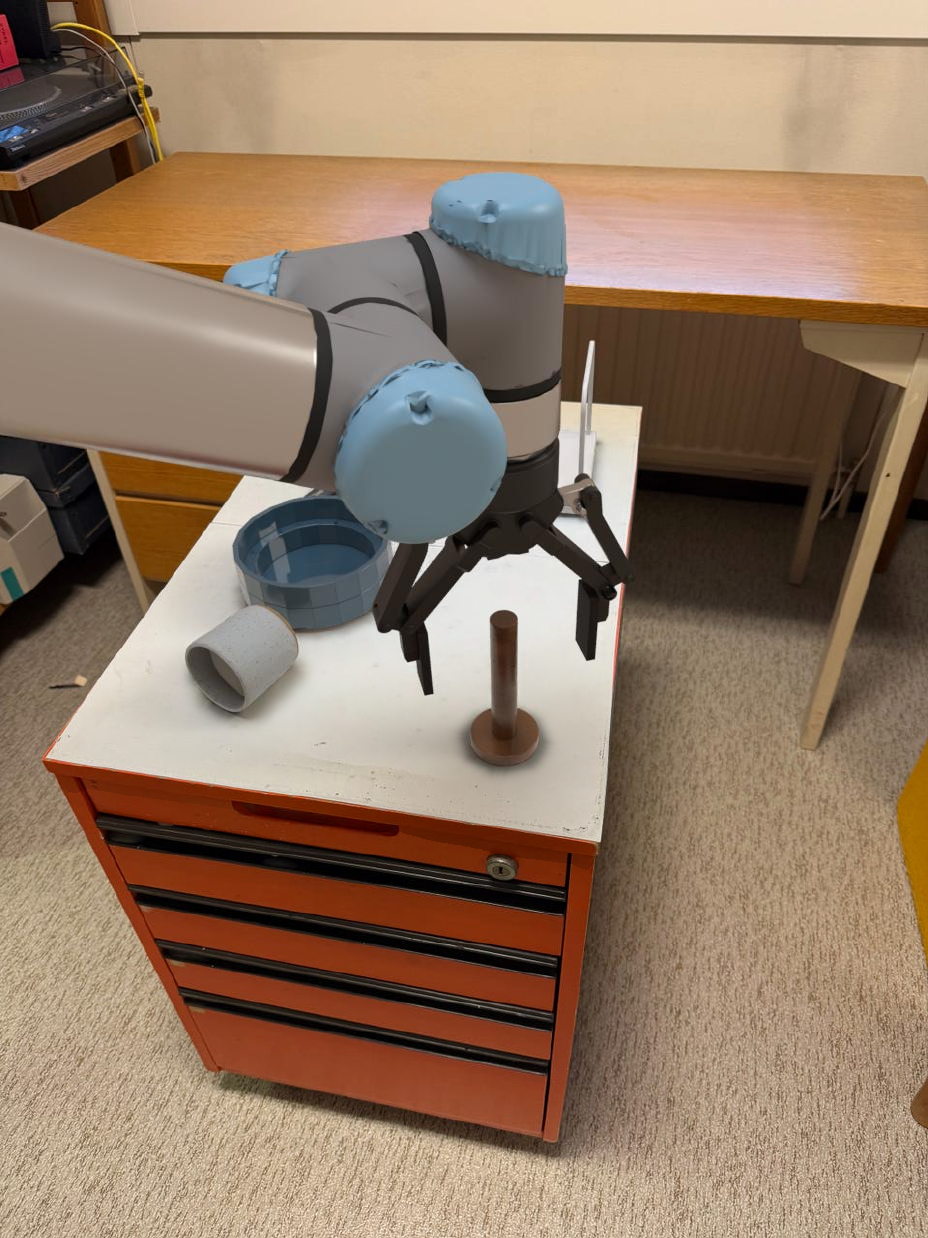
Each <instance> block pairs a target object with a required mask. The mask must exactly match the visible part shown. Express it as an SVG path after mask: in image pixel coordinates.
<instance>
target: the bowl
mask: <svg viewBox="0 0 928 1238" xmlns="http://www.w3.org/2000/svg"><path fill="white" fill-rule="evenodd" d="M231 547H232V556H233V557H232V558H233V563H234V566H235V571H236V574H237V578H238V582H239V586H240V589H241V593H242V597H243V601H244V602H245V603H246V604H247V607H248V606H251V605H256V604H258V605H264V606H267V607H269V608H271V609H273V610H275V611H276V612H278V613H279V614H280V615H281V616H282V617H283V618H284V619H285V620H286V621H287V622H288V623H289V625H290V626H291V628H292V629H312V630H313V629H315V630H316V629H322V628H327V627H332V626H338V625H341V624H344V623H347V622H349V621H352V620H354V619H356V618H359V617H361V616H364V615H365V614H367V613H368V612H369V611H371V610H372V604H373V602H374V600H375V597H376V595H377V593H378V591H379V588H380V586H381V584H382V582H383V579H384V577H385V575H386V573H387V570H388V568H389V566H390V563H391V561H392V559H393V557H394V555H393V547H392V541H389V540H387V539H384V538H382V537H381V536H379V535H377V534H375V533H374V532H372V531H370V530H369V529H367V528H366V527H365V526H364V525H363V524H362V523H361V522H360V521H359V520H358V519H357V518H356V517H355V516H354V514H352V513H351V512H350V511H349V510H348V509H347V508H346V507H345V505H344V502H343V501H342V500H341V499H339V497H338V495H335V496H309V497H304V496H303V497H298V498H292V499H288V500H285V501H283V502H280V503H277V504H273V505H271V506H269V507H267V508H265V509H263V510H262V511H261V512H259V513H257V514H255V515H254V516H252V517H250V519H248V521H247V522H245V523H244V525H243V526H241V528H240V529H239V530H237V534H236V536H235V538H234V540H233V543H232V545H231Z"/></svg>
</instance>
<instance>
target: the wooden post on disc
mask: <svg viewBox="0 0 928 1238" xmlns="http://www.w3.org/2000/svg"><path fill="white" fill-rule="evenodd" d="M518 651H519V617H518V615H517V613H515V612H513V611H512V610H508V609H499V610H495V611H494V612H493V613H491V615H490V617H489V654H490V695H491V696H490V701H491V702H490V703H491V705H490V706H491V707H489V708H487V709H485V710H484V711H482V712H480V713H479V714H478V715H477V716H475V718H474V719H473V721H472V723H471V726H470V731H469V736H470V746H471V748H472V750H473V751H474V753H475V754H476V756H478V757H479V758H480V759H481V760H483V761H484V762H486V763H489V764H491V765H495V766H501V767H503V766H504V767H505V766H506V767H507V766H509V767H510V766H514V765H518V764H521V763H523V762H525V761H527V760H528V759H530V758H531V757H532V756H533V755H534V753H535V752H536V751H537V748H538V746H539V738H540V737H539V736H540V729H539V725H538V723H537V721H536V719H535V718H534V716H532V715H531V714H530V713H528V712H527V711H525V710H524V709H521V708H519V707H518V668H519V667H518V661H519V660H518V658H519V657H518V655H519V652H518Z"/></svg>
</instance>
